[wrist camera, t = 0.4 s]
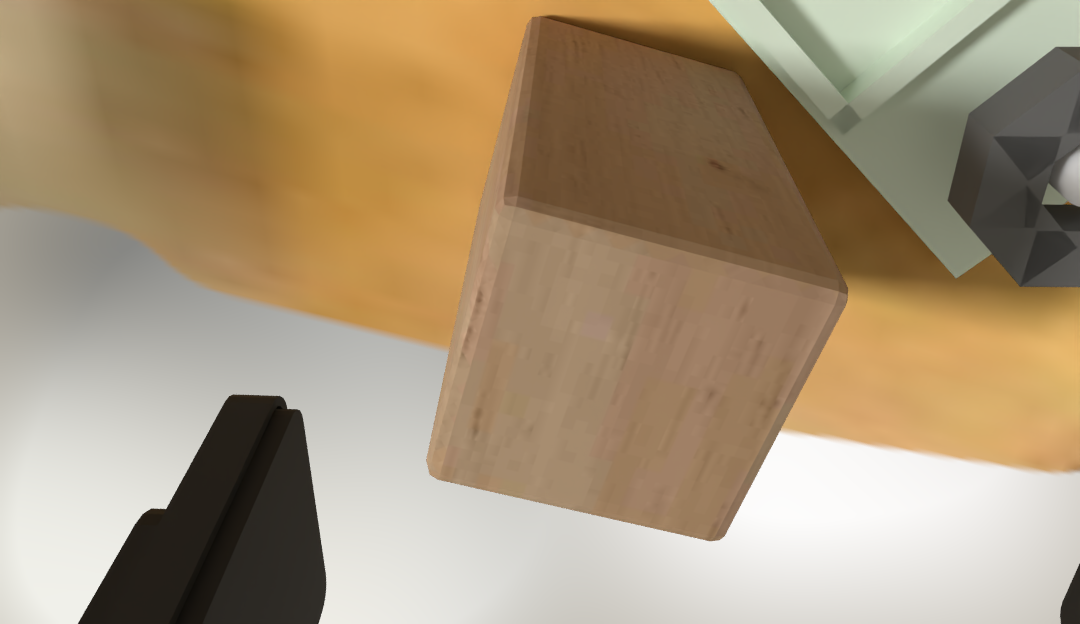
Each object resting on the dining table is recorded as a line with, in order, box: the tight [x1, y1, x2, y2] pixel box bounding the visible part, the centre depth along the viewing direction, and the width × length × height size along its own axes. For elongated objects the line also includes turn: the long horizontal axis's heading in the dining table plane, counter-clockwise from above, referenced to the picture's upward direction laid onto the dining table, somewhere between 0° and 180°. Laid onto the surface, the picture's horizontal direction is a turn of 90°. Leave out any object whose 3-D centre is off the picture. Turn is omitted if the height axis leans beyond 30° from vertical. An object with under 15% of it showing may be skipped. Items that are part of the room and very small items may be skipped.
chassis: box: [709, 0, 1080, 278], centre depth 36 cm, size 22×13×8 cm, turn 45°
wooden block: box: [426, 16, 848, 541], centre depth 35 cm, size 10×10×20 cm
